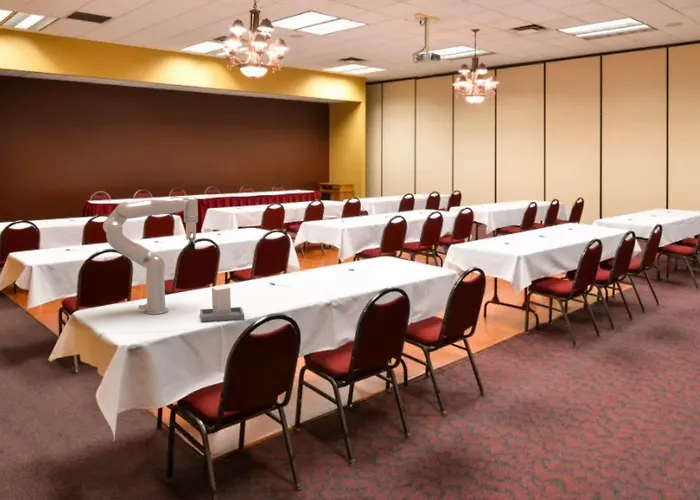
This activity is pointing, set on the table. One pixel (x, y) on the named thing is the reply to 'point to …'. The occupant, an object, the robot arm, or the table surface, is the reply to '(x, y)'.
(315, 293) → the table surface
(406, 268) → the table surface
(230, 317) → the tray
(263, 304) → the table surface
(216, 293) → the skincare box
